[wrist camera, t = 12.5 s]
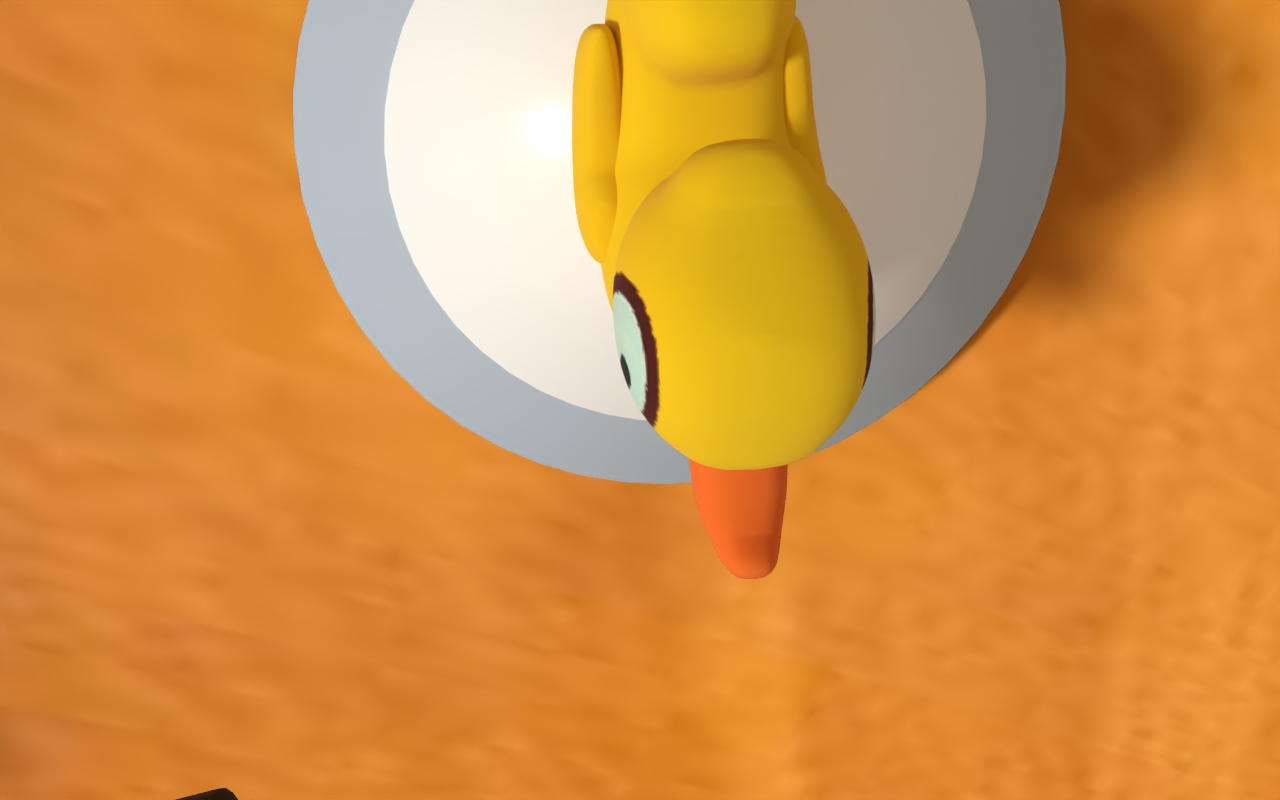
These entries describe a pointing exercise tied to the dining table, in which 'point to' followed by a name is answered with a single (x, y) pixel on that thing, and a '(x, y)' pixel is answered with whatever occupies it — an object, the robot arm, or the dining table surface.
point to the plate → (546, 215)
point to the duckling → (721, 248)
